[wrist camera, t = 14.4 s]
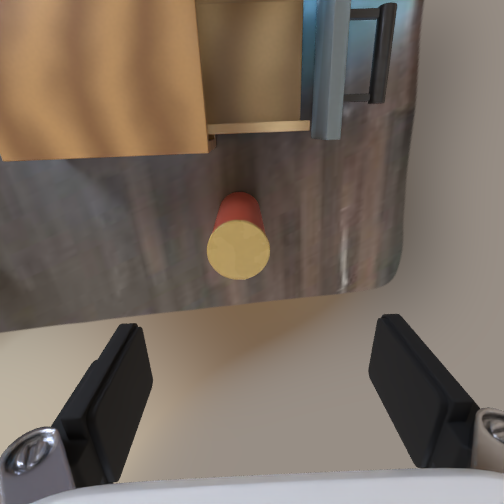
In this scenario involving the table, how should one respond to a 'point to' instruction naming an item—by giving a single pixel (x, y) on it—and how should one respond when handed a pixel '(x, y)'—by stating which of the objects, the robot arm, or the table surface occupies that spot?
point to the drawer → (283, 64)
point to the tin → (238, 238)
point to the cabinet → (101, 79)
